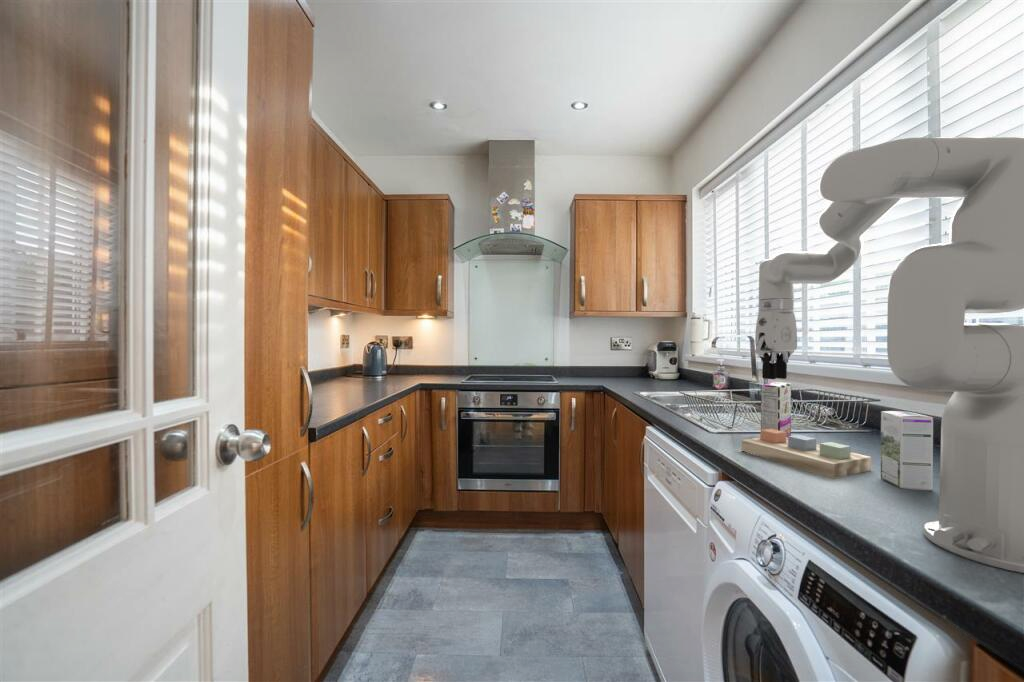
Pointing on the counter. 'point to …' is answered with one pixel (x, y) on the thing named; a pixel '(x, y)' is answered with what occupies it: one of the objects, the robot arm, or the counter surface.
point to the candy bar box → (776, 407)
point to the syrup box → (907, 449)
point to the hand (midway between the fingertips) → (774, 377)
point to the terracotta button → (773, 436)
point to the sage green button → (835, 450)
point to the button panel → (808, 458)
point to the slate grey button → (802, 442)
